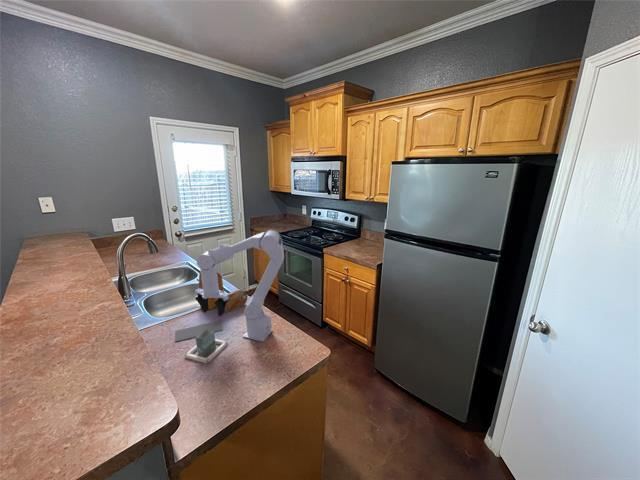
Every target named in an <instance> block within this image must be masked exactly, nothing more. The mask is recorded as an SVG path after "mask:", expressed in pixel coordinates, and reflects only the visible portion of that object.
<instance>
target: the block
mask: <svg viewBox="0 0 640 480" xmlns="http://www.w3.org/2000/svg"><path fill="white" fill-rule="evenodd" d="M215 339H216V336H215V332H213V331H209V330H204V331H203V332H202V333H201V334H199V335H198V336H197V337H195V344H196V345H197V350H196V351H197V354H198V355H200V356H203V357H204V356H205V357H208V356H210V355H211V354H212V353H213V352H214V351H215V350H216V349H217V344H216V343H215ZM196 345H195V346H196Z"/></svg>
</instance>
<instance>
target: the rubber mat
mask: <svg viewBox="0 0 640 480" xmlns="http://www.w3.org/2000/svg"><path fill="white" fill-rule="evenodd" d="M204 330H209V331H213V332H214V333H217V332H221V331H224V329H223V325H222V320H221V319H219V320H215V321H211V322H206V323H202V324H198V325H194V326H189V327H185V328H181V329H178V330H175V333H174V343H178V342H182V341H186V340H191V339H194V338H195V337H197V336H198V335H199V334H201V333H202V332H203V331H204ZM195 339H196V338H195Z"/></svg>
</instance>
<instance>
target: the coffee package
mask: <svg viewBox="0 0 640 480" xmlns="http://www.w3.org/2000/svg"><path fill="white" fill-rule="evenodd" d="M217 277H218V286H219V290H220V291H222V292H223V293H225V290H224V284H223V283H224V282H223V277H222V275H221V274H220V273H219V272H218V271H217ZM198 289H203V287H202V279H201V270H200V271H199V276H198ZM217 300H218V298H209V300H208V304H209V310H213V309H214V308H217V306H216V304H215V301H217Z"/></svg>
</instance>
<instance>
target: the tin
mask: <svg viewBox="0 0 640 480" xmlns="http://www.w3.org/2000/svg"><path fill="white" fill-rule="evenodd" d="M227 294H228V298H229V299H228V301H227V303H226V306H225V310H224V314H227V313H230V312H233V311H234V310H237V309H239V308H242V307H244V305H245V306H246V303H248V294H247V292H245V291H244V290H241V289H237V290H233V291H231V292H229V293H227Z"/></svg>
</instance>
